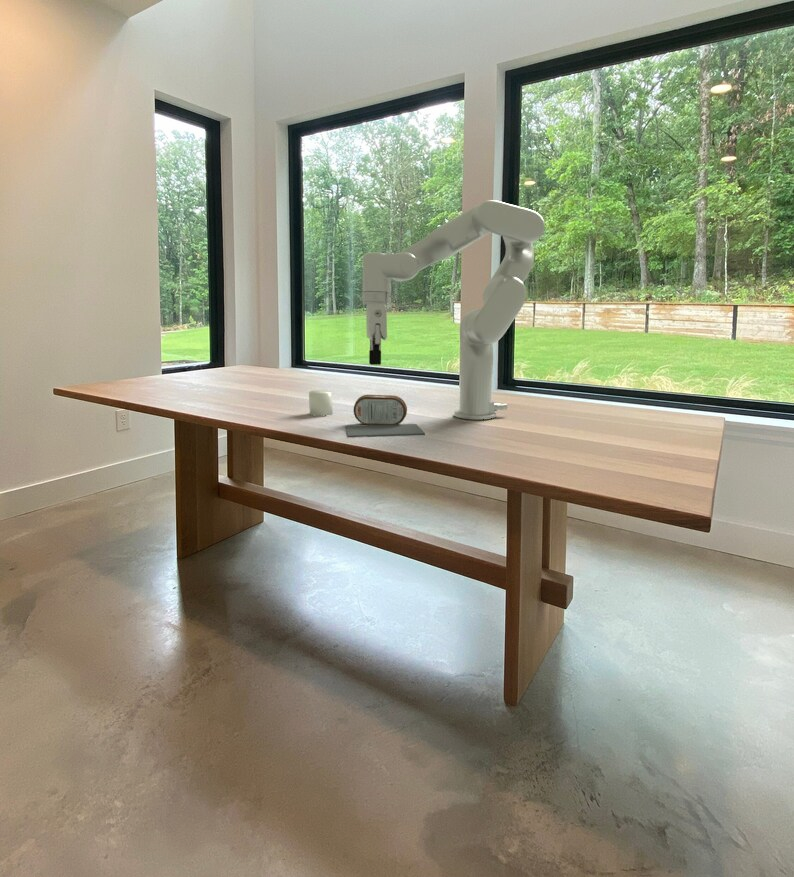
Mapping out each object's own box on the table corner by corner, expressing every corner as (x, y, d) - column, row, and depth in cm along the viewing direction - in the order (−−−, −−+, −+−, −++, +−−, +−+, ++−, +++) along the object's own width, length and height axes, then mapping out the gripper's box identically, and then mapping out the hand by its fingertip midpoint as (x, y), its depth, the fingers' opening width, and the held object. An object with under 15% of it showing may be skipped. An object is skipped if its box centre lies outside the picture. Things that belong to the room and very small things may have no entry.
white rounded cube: (332, 412, 185) (331, 389, 184) (333, 416, 179) (332, 393, 177) (309, 412, 184) (308, 390, 183) (309, 416, 178) (309, 393, 176)
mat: (416, 425, 166) (416, 423, 166) (424, 434, 154) (425, 433, 154) (345, 427, 163) (345, 425, 163) (348, 437, 151) (348, 435, 151)
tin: (407, 424, 167) (407, 394, 165) (406, 426, 164) (406, 396, 162) (354, 423, 169) (354, 393, 167) (352, 425, 166) (352, 395, 164)
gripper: (393, 299, 159) (391, 367, 163) (385, 299, 173) (384, 361, 177) (365, 298, 158) (364, 367, 162) (360, 298, 172) (359, 361, 176)
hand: (375, 364), depth 169 cm, fingers closed
